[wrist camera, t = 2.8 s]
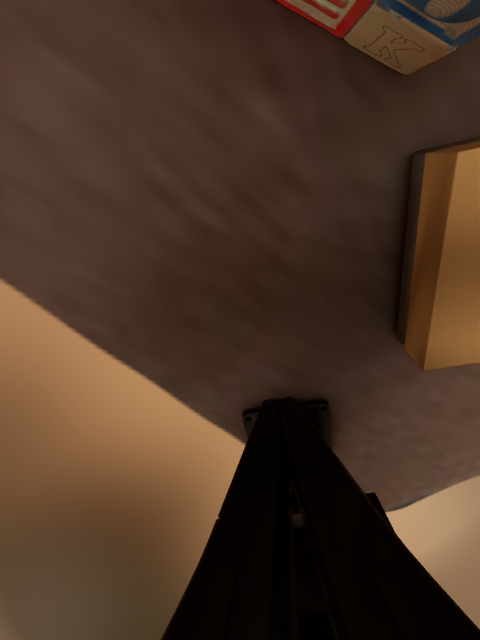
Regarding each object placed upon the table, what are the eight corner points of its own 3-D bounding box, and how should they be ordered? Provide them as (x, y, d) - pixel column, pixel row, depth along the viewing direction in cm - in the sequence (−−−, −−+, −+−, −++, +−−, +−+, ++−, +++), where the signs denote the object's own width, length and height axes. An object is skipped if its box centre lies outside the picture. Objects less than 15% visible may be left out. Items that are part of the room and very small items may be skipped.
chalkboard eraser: (477, 320, 17) (528, 356, 14) (391, 334, 17) (423, 371, 14) (526, 125, 12) (623, 114, 9) (406, 153, 12) (458, 151, 9)
